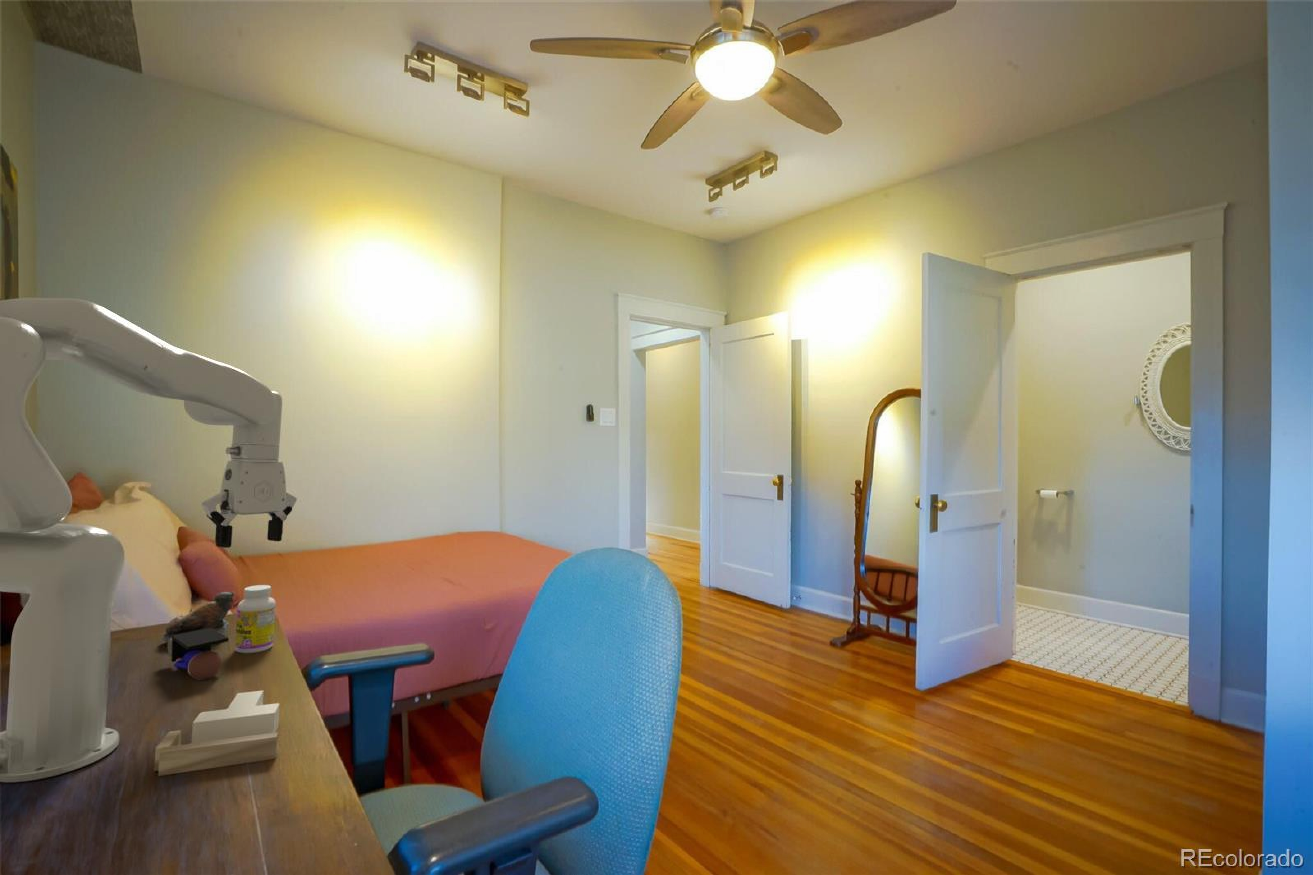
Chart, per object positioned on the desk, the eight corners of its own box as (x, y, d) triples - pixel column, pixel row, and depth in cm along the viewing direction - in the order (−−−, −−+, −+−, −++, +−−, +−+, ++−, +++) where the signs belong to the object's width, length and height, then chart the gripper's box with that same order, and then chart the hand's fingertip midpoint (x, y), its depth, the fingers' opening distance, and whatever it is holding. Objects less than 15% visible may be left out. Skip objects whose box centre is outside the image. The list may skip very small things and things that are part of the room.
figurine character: (162, 673, 112) (185, 686, 103) (163, 632, 112) (186, 642, 103) (205, 664, 117) (231, 675, 108) (206, 625, 118) (232, 633, 109)
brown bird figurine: (158, 649, 121) (161, 600, 121) (166, 638, 127) (169, 592, 127) (229, 641, 126) (232, 595, 127) (234, 632, 132) (236, 587, 133)
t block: (273, 736, 87) (274, 712, 87) (191, 747, 83) (192, 722, 83) (285, 709, 96) (286, 687, 96) (212, 718, 92) (213, 695, 92)
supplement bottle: (228, 650, 121) (231, 588, 121) (262, 641, 127) (265, 582, 127) (246, 656, 118) (249, 593, 118) (280, 647, 124) (283, 586, 124)
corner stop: (275, 758, 81) (276, 736, 81) (149, 777, 76) (150, 753, 76) (284, 737, 87) (285, 717, 87) (167, 753, 81) (169, 731, 82)
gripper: (221, 453, 102) (215, 551, 102) (310, 455, 118) (305, 540, 118) (193, 452, 105) (187, 547, 104) (284, 454, 121) (279, 537, 120)
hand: (249, 543), depth 111 cm, fingers open, 9 cm apart
